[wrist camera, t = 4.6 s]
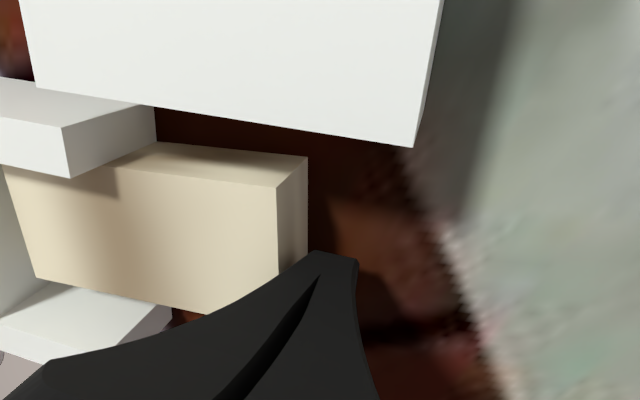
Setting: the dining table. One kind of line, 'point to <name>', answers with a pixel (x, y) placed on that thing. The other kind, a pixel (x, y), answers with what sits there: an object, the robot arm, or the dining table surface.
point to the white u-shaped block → (247, 59)
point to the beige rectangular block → (167, 223)
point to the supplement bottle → (1, 356)
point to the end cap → (6, 235)
